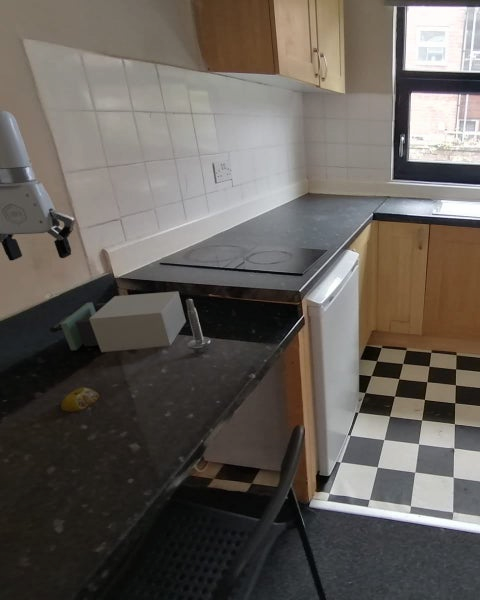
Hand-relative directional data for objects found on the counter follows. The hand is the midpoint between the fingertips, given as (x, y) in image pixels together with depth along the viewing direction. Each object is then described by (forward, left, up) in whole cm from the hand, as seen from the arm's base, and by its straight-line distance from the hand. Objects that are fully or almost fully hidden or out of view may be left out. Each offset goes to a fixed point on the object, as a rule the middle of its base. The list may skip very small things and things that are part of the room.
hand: (41, 257), depth 88 cm
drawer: (+8, -2, -20) cm, 21 cm away
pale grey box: (+17, -2, -21) cm, 27 cm away
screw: (+32, -12, -21) cm, 40 cm away
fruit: (+18, -30, -21) cm, 40 cm away
